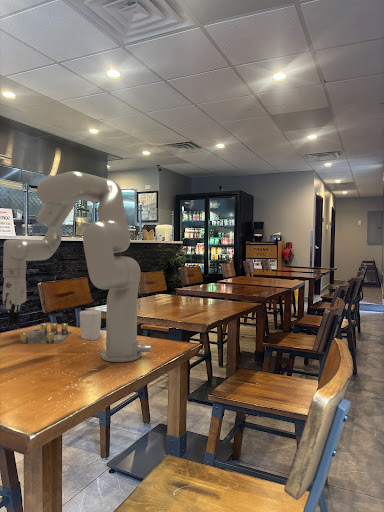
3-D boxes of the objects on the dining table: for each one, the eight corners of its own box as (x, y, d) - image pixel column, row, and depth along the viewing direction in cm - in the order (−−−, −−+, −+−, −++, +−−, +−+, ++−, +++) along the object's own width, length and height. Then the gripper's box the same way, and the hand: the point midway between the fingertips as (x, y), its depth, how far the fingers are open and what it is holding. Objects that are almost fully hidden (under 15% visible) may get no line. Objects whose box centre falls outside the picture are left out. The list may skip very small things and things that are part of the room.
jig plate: (73, 333, 147) (73, 323, 146) (59, 345, 129) (59, 333, 128) (37, 333, 146) (37, 322, 146) (18, 345, 128) (18, 333, 128)
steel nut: (46, 335, 140) (46, 328, 140) (40, 339, 134) (40, 332, 134) (32, 335, 140) (32, 328, 140) (26, 339, 134) (26, 332, 134)
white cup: (98, 341, 135) (98, 314, 135) (76, 340, 135) (76, 313, 135) (103, 336, 143) (103, 310, 143) (83, 335, 143) (83, 309, 143)
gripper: (16, 275, 129) (15, 327, 129) (32, 272, 144) (31, 318, 144) (-6, 274, 129) (-7, 327, 129) (13, 271, 143) (12, 318, 144)
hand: (13, 322), depth 137 cm, fingers closed
